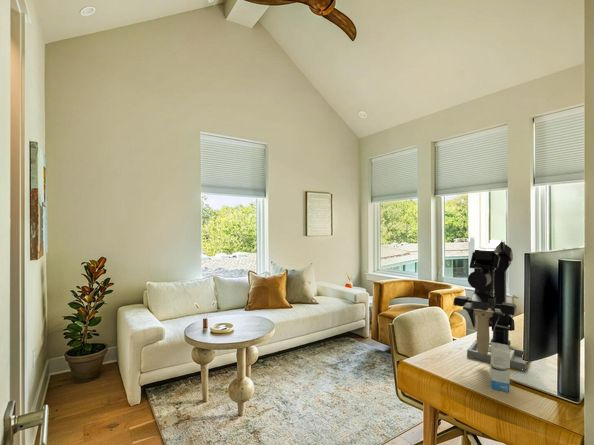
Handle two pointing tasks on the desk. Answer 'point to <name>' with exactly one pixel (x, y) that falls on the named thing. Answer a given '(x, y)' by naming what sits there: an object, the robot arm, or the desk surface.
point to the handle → (483, 330)
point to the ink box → (500, 367)
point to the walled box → (472, 352)
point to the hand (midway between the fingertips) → (483, 329)
